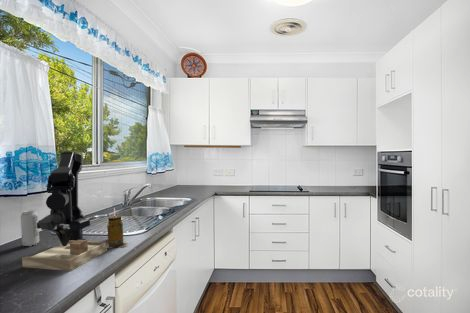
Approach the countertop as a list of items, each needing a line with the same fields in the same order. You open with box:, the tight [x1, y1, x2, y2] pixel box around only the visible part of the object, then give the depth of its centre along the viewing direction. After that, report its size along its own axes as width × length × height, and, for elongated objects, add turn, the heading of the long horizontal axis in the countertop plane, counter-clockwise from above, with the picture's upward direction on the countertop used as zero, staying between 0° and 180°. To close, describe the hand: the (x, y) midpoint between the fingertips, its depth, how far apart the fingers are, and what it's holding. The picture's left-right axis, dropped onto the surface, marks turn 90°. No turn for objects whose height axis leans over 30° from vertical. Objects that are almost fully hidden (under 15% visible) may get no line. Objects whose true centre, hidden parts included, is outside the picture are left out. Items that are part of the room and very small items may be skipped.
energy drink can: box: [20, 209, 40, 247], centre depth 118 cm, size 6×6×15 cm
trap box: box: [21, 240, 108, 272], centre depth 101 cm, size 18×20×4 cm
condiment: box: [106, 215, 131, 249], centre depth 114 cm, size 7×8×12 cm
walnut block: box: [70, 239, 88, 255], centre depth 100 cm, size 4×4×4 cm
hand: (64, 245), depth 101 cm, fingers closed
